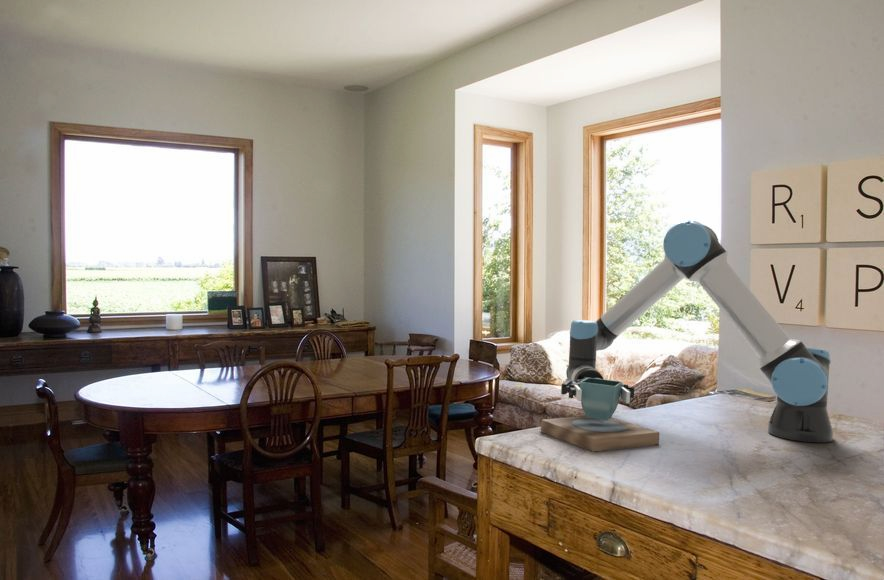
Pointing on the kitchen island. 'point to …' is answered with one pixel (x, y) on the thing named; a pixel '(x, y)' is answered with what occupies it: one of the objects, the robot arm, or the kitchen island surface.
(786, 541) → the kitchen island surface
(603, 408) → the flower pot
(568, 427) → the walnut plinth
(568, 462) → the kitchen island surface
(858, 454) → the kitchen island surface
